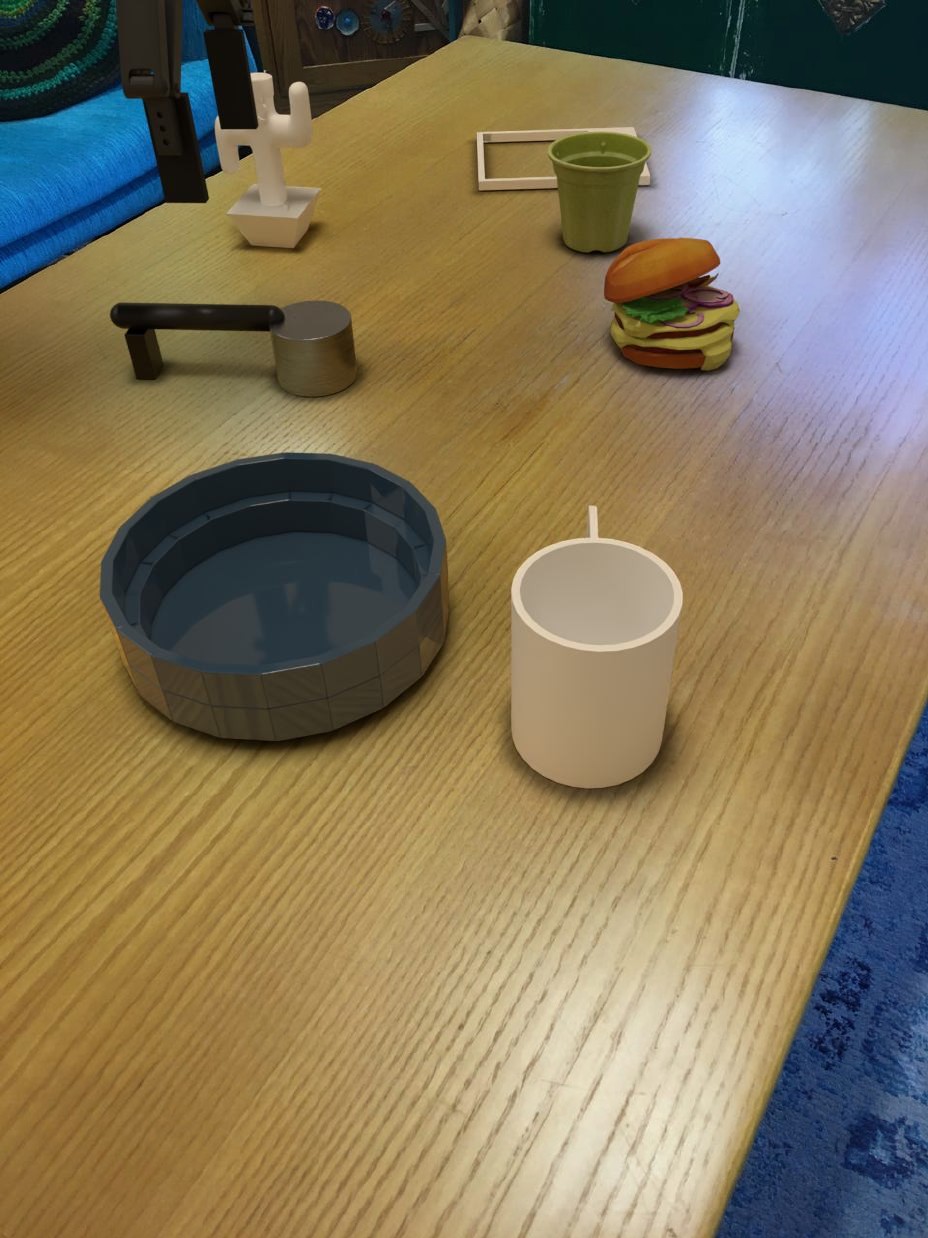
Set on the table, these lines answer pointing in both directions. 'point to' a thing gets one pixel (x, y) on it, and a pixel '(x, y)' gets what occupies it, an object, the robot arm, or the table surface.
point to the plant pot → (597, 187)
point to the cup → (592, 658)
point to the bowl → (278, 594)
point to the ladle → (300, 333)
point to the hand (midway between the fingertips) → (215, 162)
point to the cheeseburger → (670, 305)
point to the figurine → (270, 168)
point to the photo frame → (535, 136)
